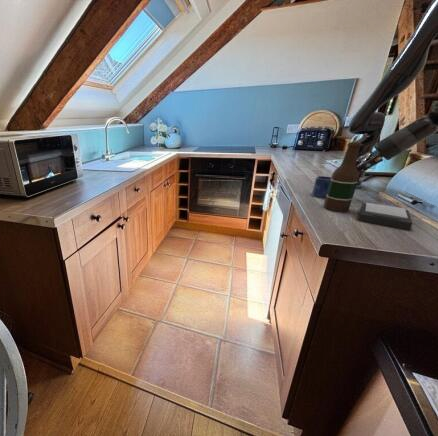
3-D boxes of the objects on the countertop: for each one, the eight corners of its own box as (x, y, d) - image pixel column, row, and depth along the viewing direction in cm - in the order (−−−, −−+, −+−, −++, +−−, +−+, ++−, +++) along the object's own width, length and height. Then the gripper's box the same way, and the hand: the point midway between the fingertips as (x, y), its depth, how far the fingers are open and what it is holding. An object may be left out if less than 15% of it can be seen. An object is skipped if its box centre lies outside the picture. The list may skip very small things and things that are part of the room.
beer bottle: (325, 203, 97) (343, 140, 87) (350, 208, 91) (371, 141, 82) (320, 208, 92) (338, 142, 82) (346, 213, 86) (368, 143, 77)
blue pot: (313, 193, 110) (317, 175, 107) (330, 195, 106) (335, 177, 103) (310, 196, 106) (314, 178, 103) (328, 199, 102) (333, 180, 99)
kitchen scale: (360, 209, 90) (363, 201, 89) (405, 216, 83) (409, 208, 82) (358, 220, 81) (361, 212, 80) (409, 230, 73) (413, 221, 72)
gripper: (383, 135, 94) (338, 162, 104) (393, 137, 83) (342, 168, 93) (396, 149, 94) (350, 176, 104) (409, 154, 83) (356, 183, 93)
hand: (346, 172), depth 98 cm, fingers open, 8 cm apart
